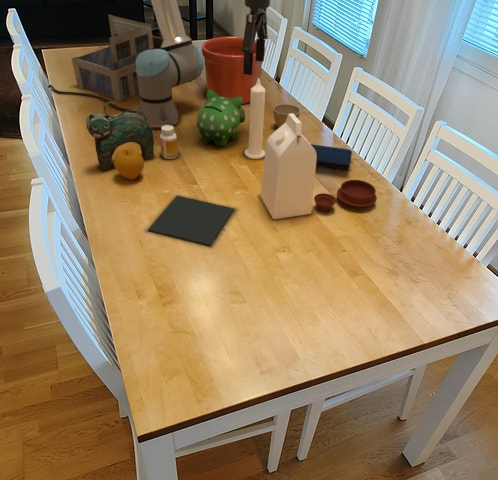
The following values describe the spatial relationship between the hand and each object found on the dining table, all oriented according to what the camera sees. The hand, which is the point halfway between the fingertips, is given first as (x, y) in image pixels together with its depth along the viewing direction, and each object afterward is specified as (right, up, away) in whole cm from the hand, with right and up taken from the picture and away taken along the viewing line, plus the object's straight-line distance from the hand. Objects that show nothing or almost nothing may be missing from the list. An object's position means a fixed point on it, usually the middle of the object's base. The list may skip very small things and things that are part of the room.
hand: (253, 67), depth 148 cm
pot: (-8, +10, +45) cm, 47 cm away
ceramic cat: (-42, -31, +1) cm, 52 cm away
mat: (-17, -53, -21) cm, 59 cm away
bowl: (+12, -12, +24) cm, 29 cm away
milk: (+9, -47, -14) cm, 50 cm away
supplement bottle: (-28, -27, +5) cm, 39 cm away
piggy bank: (-12, -19, +15) cm, 27 cm away
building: (-57, +15, +47) cm, 76 cm away
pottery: (+26, -47, -12) cm, 55 cm away
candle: (0, -26, +8) cm, 27 cm away
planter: (-39, +29, +63) cm, 79 cm away
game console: (+24, -30, +5) cm, 39 cm away
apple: (-38, -37, -6) cm, 54 cm away
